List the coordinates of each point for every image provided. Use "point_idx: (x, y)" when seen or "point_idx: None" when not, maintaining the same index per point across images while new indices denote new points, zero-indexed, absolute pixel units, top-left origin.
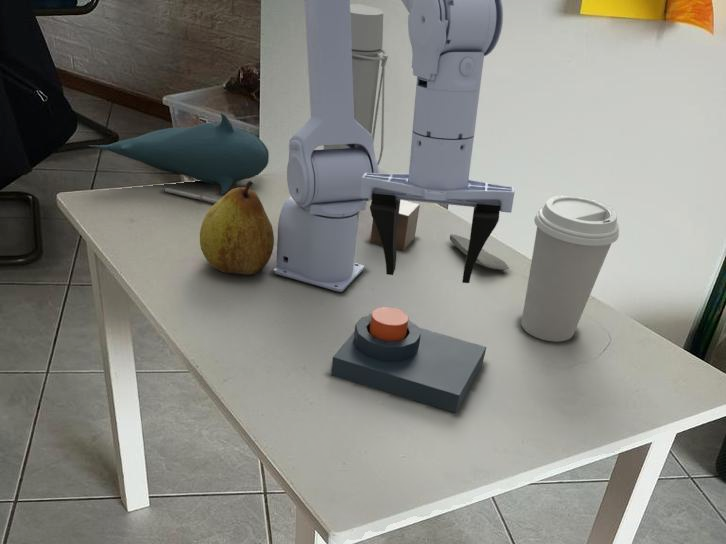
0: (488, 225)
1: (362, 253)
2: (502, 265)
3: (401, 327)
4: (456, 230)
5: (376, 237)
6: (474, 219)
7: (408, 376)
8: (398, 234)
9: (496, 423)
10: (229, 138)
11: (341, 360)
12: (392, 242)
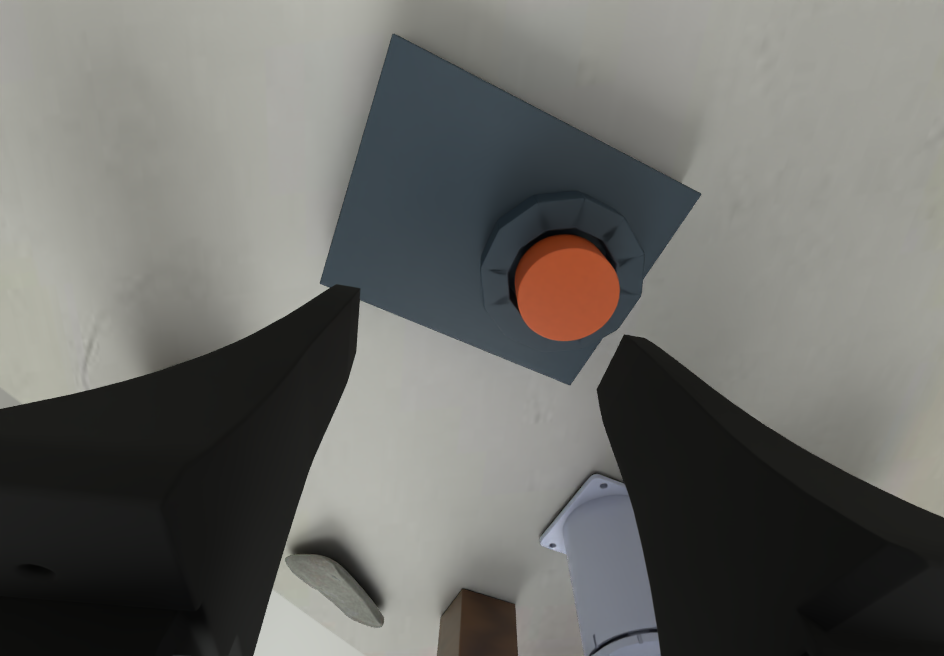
0: (35, 427)
1: (532, 577)
2: (295, 562)
3: (542, 252)
4: (371, 639)
5: (506, 612)
6: (156, 475)
7: (522, 121)
8: (472, 618)
9: (301, 4)
10: None
11: (681, 183)
12: (708, 413)
